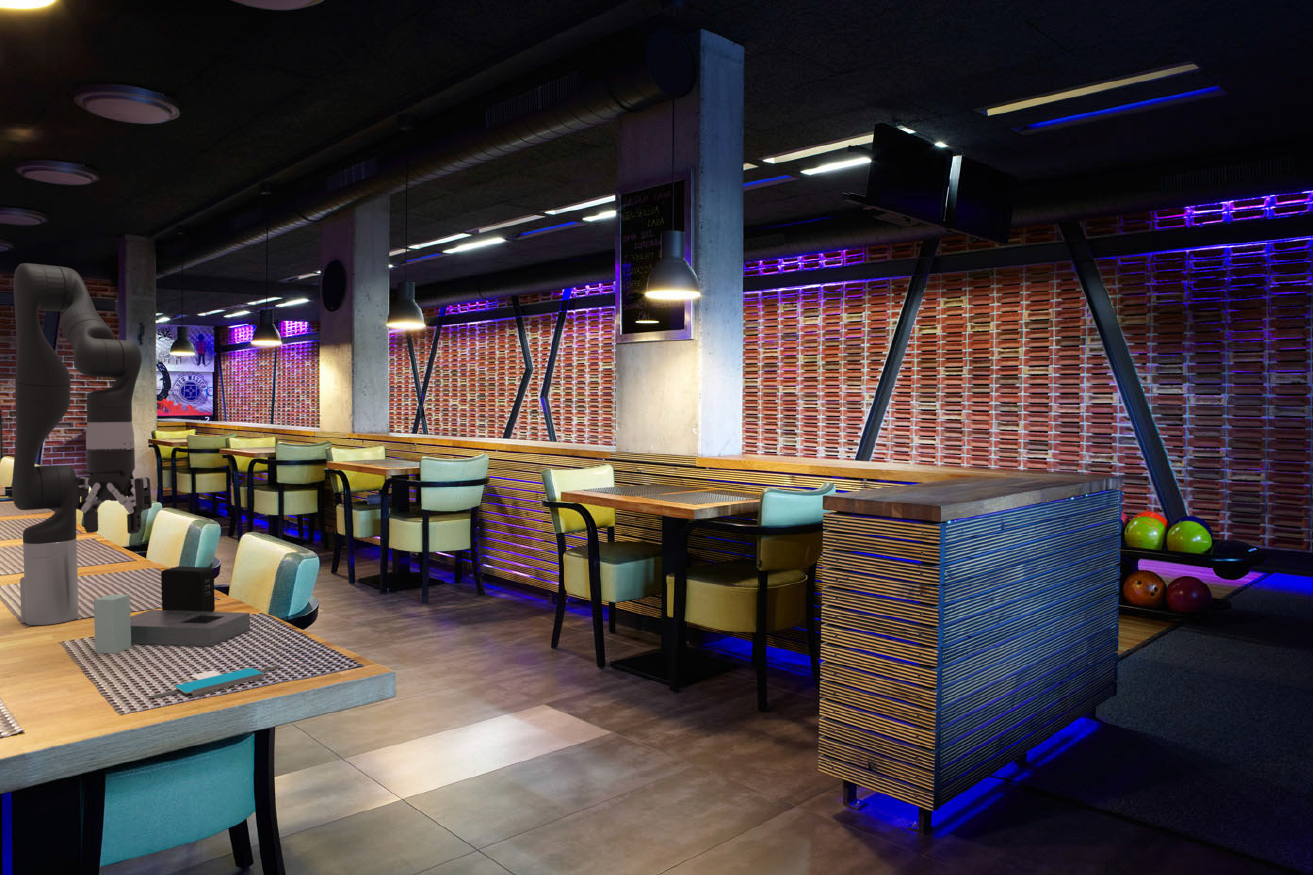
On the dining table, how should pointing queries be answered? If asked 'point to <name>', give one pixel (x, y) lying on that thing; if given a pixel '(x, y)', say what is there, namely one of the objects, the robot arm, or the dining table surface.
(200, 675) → the teal bar with rods
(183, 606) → the electronic device
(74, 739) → the dining table surface
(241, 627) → the grey peg hole base
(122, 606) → the sage green square post
